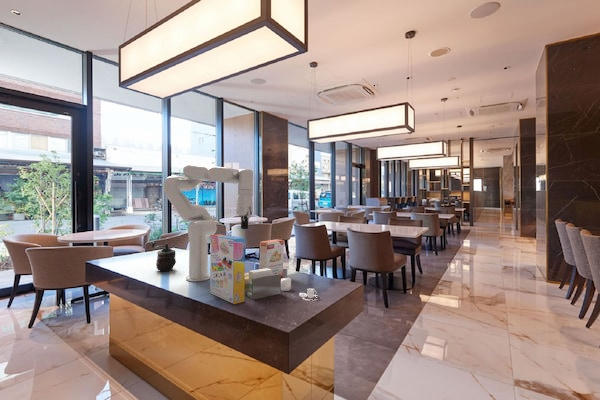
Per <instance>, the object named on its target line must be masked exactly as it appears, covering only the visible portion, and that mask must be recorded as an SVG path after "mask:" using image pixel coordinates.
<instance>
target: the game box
mask: <svg viewBox="0 0 600 400" xmlns="http://www.w3.org/2000/svg"><path fill="white" fill-rule="evenodd" d="M245 239H246V238H245V237H240V236H234V235H227V234H223V233H222V234H220V233H218V234H216V233H215V234H214V235H211V236H210V248H209V249H210V262H209V263H210V268H209V269H210V270H209V271H210V274H209V275H210V279H209V280H210V282H209V283H210V285H209V286H210V287H209V290H210V291H209V292H210V294H211V295H213V296H215V297H217V298H220V299H222V300H223V301H226V302H229V303H231V304H233V305H237V304H241V303H243V302H245V297H246V295H245V273H246V272H245V268H246V265H245V263H246V261H245V260H246V259H245V258H246V257H245V255H246V254H245V253H246V249H245V248H246V240H245Z"/></svg>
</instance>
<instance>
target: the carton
mask: <svg viewBox="0 0 600 400" xmlns="http://www.w3.org/2000/svg"><path fill="white" fill-rule="evenodd" d="M248 273H249V291H251V292H252V278H255V277H261V276H267V275H272V269H269V268H265V269H254V270H253V269H252V270H248Z"/></svg>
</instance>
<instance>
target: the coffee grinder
mask: <svg viewBox="0 0 600 400" xmlns="http://www.w3.org/2000/svg"><path fill="white" fill-rule="evenodd" d="M155 245H157V242H155V241H153V242H151V247H152V249H157V248H159V247H162V249H161V250H158V251H157V257H156V262H155V264H156V269H157V271H159V270H160V271H159V272H161V271H164V272H169V270H171V269H172V270H173V269H174V267H175V265H176V263H177V261H176V251H175V250H173V249H172V248H170V247H169V243H168V242H166V243H165V244H160V245H157V246H155ZM163 247H164V248H163ZM172 270H171V271H172Z"/></svg>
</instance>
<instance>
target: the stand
mask: <svg viewBox="0 0 600 400" xmlns="http://www.w3.org/2000/svg"><path fill="white" fill-rule="evenodd" d="M280 294H281V277H280V274H273V275H267V276H261V277H255V278H252V292H251V291H249V272H245V297H248V298H250V299H251V300H258V299H262V298H265V297H272V296H275V295H276V296H277V295H280Z"/></svg>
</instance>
